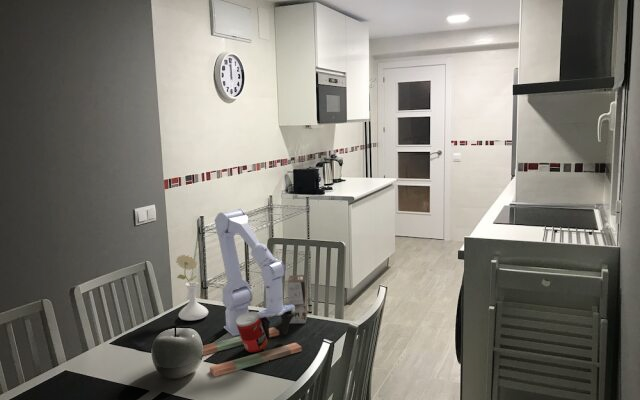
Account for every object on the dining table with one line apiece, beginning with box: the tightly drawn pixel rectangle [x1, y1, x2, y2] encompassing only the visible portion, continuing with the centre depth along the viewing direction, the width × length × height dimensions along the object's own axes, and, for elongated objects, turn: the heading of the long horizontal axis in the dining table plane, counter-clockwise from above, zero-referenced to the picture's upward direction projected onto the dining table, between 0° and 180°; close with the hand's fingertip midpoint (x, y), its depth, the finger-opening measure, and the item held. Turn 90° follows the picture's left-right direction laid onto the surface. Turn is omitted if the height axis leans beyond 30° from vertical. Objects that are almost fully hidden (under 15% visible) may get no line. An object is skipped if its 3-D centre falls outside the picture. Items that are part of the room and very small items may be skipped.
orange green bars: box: [202, 327, 303, 377], centre depth 172 cm, size 20×30×2 cm, turn 122°
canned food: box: [236, 311, 268, 353], centre depth 172 cm, size 8×8×11 cm
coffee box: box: [287, 274, 308, 324], centre depth 198 cm, size 9×6×16 cm
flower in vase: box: [175, 254, 209, 322], centre depth 202 cm, size 13×11×25 cm
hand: (275, 335), depth 177 cm, fingers open, 6 cm apart
